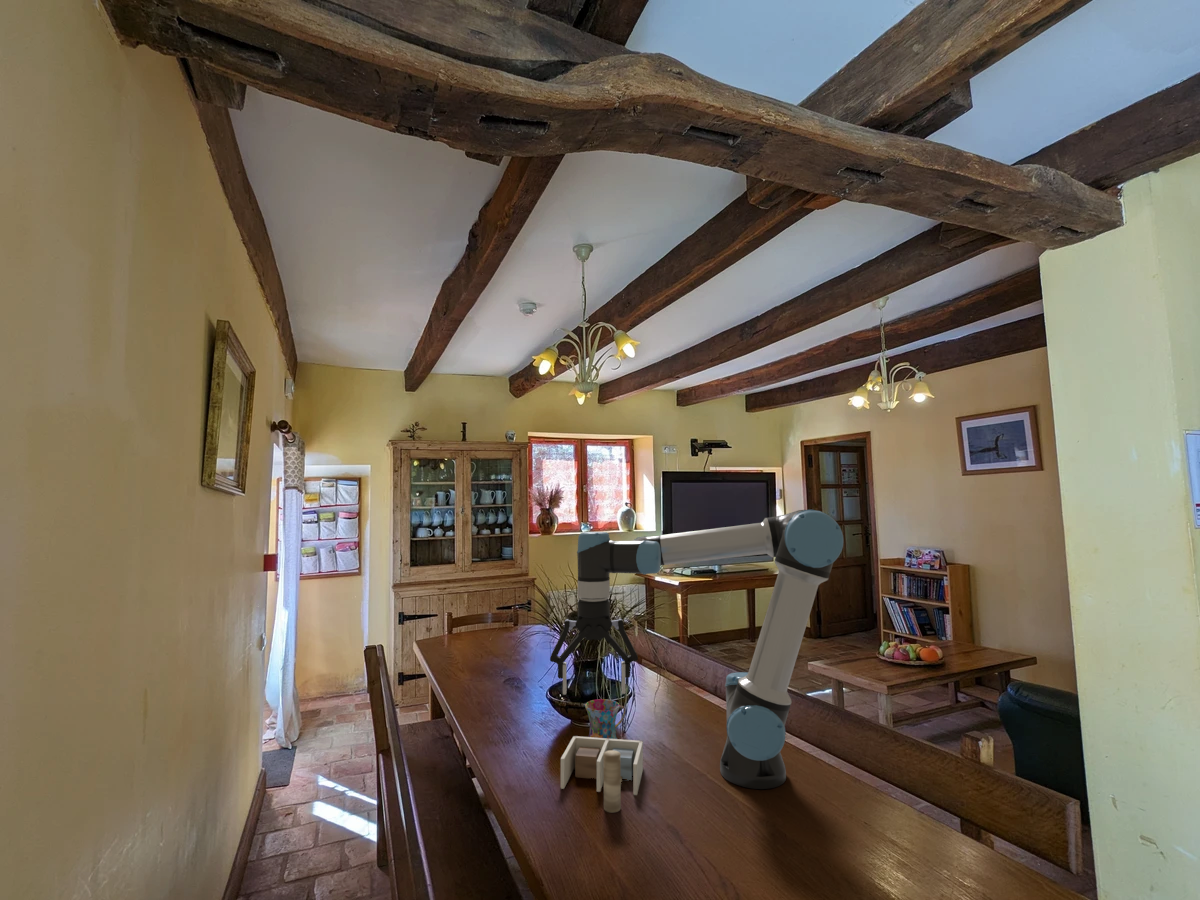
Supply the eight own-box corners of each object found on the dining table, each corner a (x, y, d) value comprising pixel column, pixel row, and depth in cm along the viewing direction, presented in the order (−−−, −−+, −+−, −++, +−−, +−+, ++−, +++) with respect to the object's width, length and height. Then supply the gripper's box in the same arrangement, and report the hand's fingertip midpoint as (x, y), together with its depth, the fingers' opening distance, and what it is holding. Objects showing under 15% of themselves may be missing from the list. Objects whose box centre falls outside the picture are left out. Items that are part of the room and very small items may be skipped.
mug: (596, 756, 148) (596, 713, 149) (578, 743, 156) (578, 702, 157) (635, 746, 154) (634, 705, 155) (616, 734, 162) (616, 695, 163)
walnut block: (579, 767, 142) (579, 746, 142) (599, 769, 141) (599, 748, 141) (575, 777, 137) (575, 755, 137) (596, 779, 136) (596, 757, 136)
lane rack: (573, 763, 144) (573, 736, 145) (643, 768, 141) (642, 740, 142) (560, 788, 131) (560, 758, 132) (637, 795, 128) (636, 764, 129)
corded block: (613, 769, 141) (613, 722, 142) (633, 770, 140) (633, 723, 141) (599, 811, 122) (599, 756, 123) (622, 813, 121) (622, 758, 122)
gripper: (645, 595, 140) (646, 686, 138) (541, 596, 139) (541, 687, 137) (648, 600, 132) (649, 696, 130) (539, 601, 132) (538, 698, 130)
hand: (594, 692), depth 134 cm, fingers open, 13 cm apart
